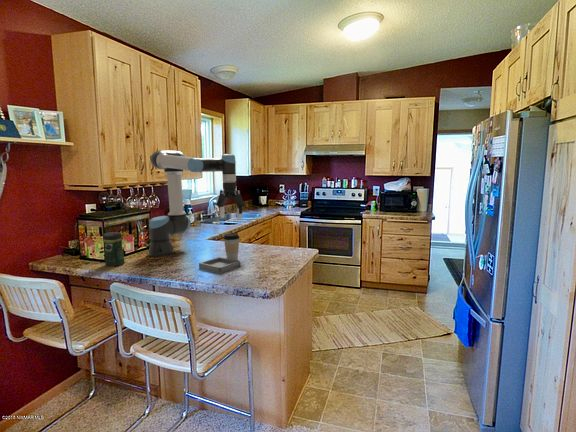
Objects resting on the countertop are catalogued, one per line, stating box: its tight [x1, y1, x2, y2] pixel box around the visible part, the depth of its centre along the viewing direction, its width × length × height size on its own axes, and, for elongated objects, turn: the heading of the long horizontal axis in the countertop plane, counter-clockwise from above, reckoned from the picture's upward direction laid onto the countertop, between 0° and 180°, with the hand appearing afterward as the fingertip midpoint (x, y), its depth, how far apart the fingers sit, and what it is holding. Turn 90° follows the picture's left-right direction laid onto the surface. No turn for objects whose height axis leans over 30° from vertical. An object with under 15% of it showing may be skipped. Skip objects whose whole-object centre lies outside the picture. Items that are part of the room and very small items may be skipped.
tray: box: [198, 256, 241, 274], centre depth 187 cm, size 16×15×3 cm
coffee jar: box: [102, 231, 125, 267], centre depth 194 cm, size 10×8×19 cm
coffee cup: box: [223, 233, 240, 261], centre depth 202 cm, size 9×9×15 cm
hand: (231, 218), depth 199 cm, fingers open, 13 cm apart
